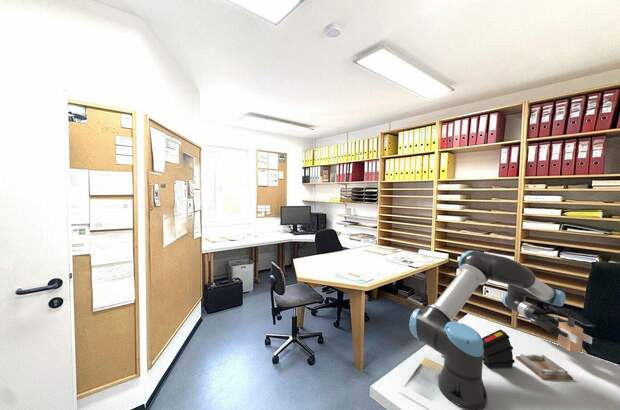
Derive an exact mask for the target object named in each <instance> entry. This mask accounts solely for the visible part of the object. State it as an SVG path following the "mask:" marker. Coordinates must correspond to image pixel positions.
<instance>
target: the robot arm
mask: <svg viewBox="0 0 620 410" xmlns="http://www.w3.org/2000/svg"><path fill="white" fill-rule="evenodd" d="M458 268H459V269H458V270H459V273H458V274H457V275H456V277H455V278H454V279H453V280H452V281H451V283H450V284H449V285H448V286H447V287H446V288H445V290H444V291H443V292H442V293H441V295H440V296H439V297H438V298H437V300H436V301H435V302H434V303H433V304H428V305H426V306H425V308H423V309H422V308H416V309H414V310H413V312H412V313H411V315H410V318H409V331H410V332H411V335H412V336H414V338H416V339H418V340H419V342H421V343H423V344H425V345H426V346H428V347H429V348H431V349H433V350H435V351H436V352H437V353H439V354H442V355H444V358H443V359H444V362H443V363H444V364H443V366H442V368H441V370H440V373H439V374H438V378H437V380H438V381H437V386H438V389H439V390H440V392H441V394H443V396H444V395H445V396H446V397H445V396H444V397H445V398H446V399H447V400H449V401H450V400H451V401H450V402H452V401H453V402H455V403H457V404H459V405H460V406H459V405H458V406H459V407H461V408H464V409H466V410H483V409H485V408H487V405H488V394H487V390H486V387H485V384H484V381H483V365H484V364H483V353H484V349H483V340H482V338H483V337H482V336H481V335H480V333H479V332H478V331H476V330H475V329H474V328H473V327H472V326H470V325H468V324H465V323H462V322H459V321H453V320H454V319H455V317H456V316H457V315H458V313H459V312H460V310H461V309H462V308H463V306H464V305H465V304H466V303H467V301H469V299H470V297H472V295H473V293H474V292H475V290H476V289H477V288H478V287H479V286H482V285H486V284H487V281H493V282H496V283H500V284H506V285H507V293H506V294H504V295H503V296H502V298H501V302H502V304H503V305H504V306H505V307H507V308H508V309H510V310H512V311H513V312H515V313H517V314H518V315H520V316H522V317H524V318H525V319H527V320H529V321H530V322H531V323H533V324H535V325H537V326H539V327H540V328H543V329H544V330H546V331H548V332H549V333H551V334H552V333H554V335H556V336H558V335H559V334H560V335H562V336H564V337H565V338H567V339H569V340H571V341H573V342H574V343H577V344H578V337H577V336H575V335H573V334H572V333H570V332H568V331H566V330H564V329H562V328H560V329H559V322H567V321H565V320H564V319H562V318H560V317H559V316H556V317H552V316H550V315H549V314H547V313H546V312H545V310H543V309H541V308H540V307H538V306H536V305H534V304H532V303H530V302H528V301H526V297H528V298H529V299H530V298H531V299H535V300H538V301H541V302H543V303H547V304H549V305H553V306H557V307H563V306H564V304H565V302H566V293H565V292H564V291H562V290H560V289H555V288H552V287H550V286H549V285H548V284H546V283H545V282H543V281H542V280H541V279H539V278H538V277H536V274H535V273H534V272H533V271H532V270H531V269H529V268H528V267H526V266H525V265H523V264H521V263H520V262H518V261H515V260H514V259H511V258H509V257H506V256H501V255H497V254H492V253H488V252H487V253H486V252H483V251H479V250H467V251H464V252H463V253H462V254H461V255H460V257H459V260H458ZM582 341H583V342H585V343H588V344H590V345H593V337H592V336H590V335H588V334H586V333H584V332H583V337H582ZM453 402H452V403H453ZM455 403H454V404H455ZM457 404H456V405H457Z"/></svg>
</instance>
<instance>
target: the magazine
mask: <svg viewBox="0 0 620 410" xmlns="http://www.w3.org/2000/svg"><path fill="white" fill-rule="evenodd" d="M481 338H482V340H483V349H484V353H483V365H484V366H486V368H487V369H513V368H514V366H513V364H515V362H516V361H515V359H514V357H513V356H514V355H513V350H514V346H512V345H511V341H510V338H511V337H510V335H508V334H507V332H506V331H504V330H502V329H501V328H500V329H498V330H496V331H494V332H492V333H490V334H487V335H486V336H483V337H481Z"/></svg>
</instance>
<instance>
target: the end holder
mask: <svg viewBox="0 0 620 410" xmlns="http://www.w3.org/2000/svg"><path fill="white" fill-rule="evenodd" d="M515 359H516V360H518V361H519V362H520V364H522V365H524V366H525V367H526V368H527V369H529V370H530V371H531V372H532V373H534V375H536V376H537V377H539V378H540V379H541V380H562V381H563V380H565V381H568V380H569V381H573V379H574V378H573V376H571V375H570V374H569V373H568V371H567V370H566V369H564V368H563V367H562V366H560V365H559V364H557V363H556V362H554V361H553V360H552V359H550V358H548V356H546V355H544V354H520V355H517V356H515Z"/></svg>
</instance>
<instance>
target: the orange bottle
mask: <svg viewBox="0 0 620 410" xmlns="http://www.w3.org/2000/svg"><path fill="white" fill-rule="evenodd" d="M575 320H576V319H575V318H573V317H567V321H566V322H559V327H558V328H559V329H560V328H562V329H564V330H566V331H568V332H570V333H572V334H573V335H575V336H577V337H578V344H577V343H574V342H573V341H571V340H569V339H567V338H565V337H564V336H562V335H560V334H559V335H557V345H559V346H560V347H562V348H563V349H565V350H567V351H568V352H579V353H580V352H582V351H583V350H582V349H583V340H582V337H583V333H584V328H582V327H581V326H579V325H576V324H575Z"/></svg>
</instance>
